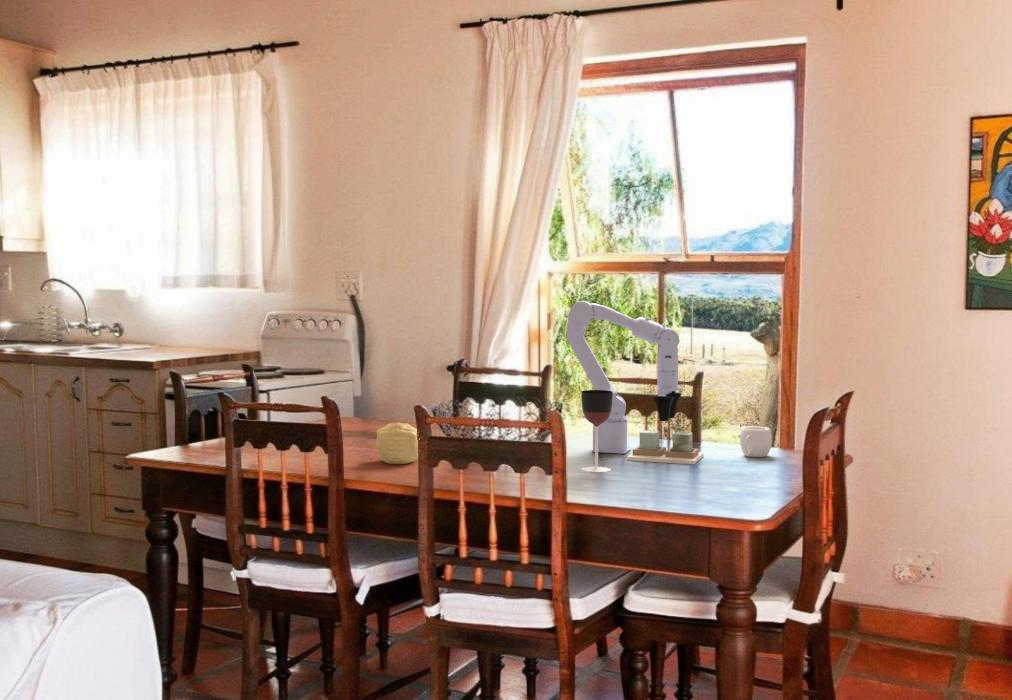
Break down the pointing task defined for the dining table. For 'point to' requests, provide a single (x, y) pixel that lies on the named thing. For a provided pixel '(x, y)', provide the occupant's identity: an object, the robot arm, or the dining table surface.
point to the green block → (682, 442)
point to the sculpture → (397, 443)
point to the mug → (755, 441)
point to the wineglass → (596, 416)
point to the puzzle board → (661, 451)
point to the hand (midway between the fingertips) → (667, 419)
